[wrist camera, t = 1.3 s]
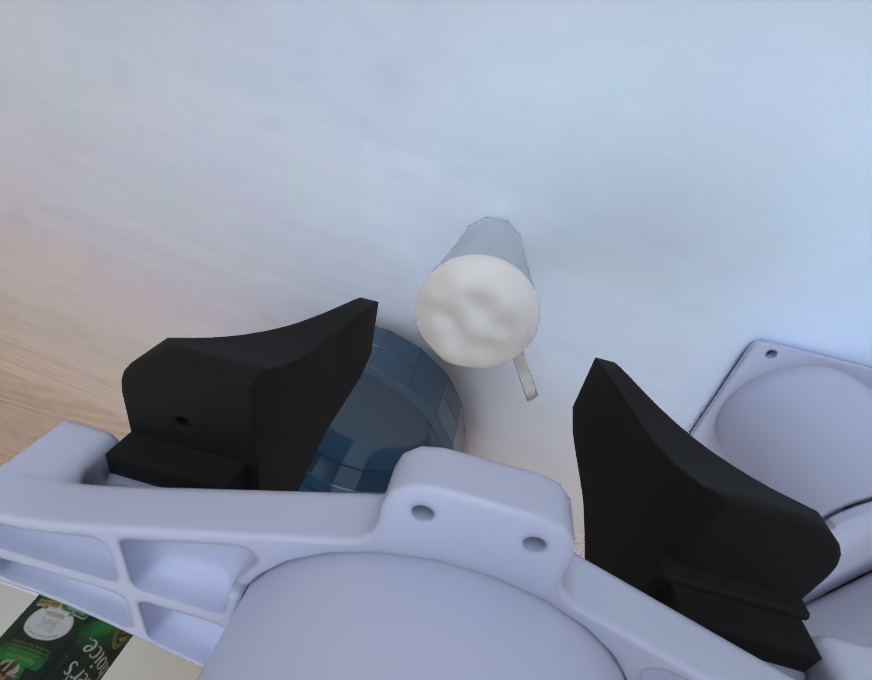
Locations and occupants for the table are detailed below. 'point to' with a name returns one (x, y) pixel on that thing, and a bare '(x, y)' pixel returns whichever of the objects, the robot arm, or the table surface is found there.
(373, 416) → the bowl
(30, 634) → the coffee jar
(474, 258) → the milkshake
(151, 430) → the robot arm
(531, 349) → the table surface
